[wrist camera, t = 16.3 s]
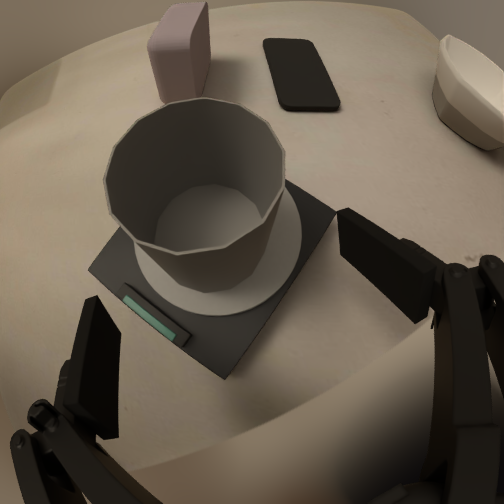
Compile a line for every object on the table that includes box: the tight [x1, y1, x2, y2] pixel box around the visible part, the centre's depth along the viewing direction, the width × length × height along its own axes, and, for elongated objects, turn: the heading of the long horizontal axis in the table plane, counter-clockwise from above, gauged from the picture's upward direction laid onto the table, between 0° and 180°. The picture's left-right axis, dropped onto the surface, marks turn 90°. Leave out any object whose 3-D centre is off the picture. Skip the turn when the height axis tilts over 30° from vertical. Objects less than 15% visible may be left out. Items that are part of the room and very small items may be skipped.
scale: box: [88, 179, 337, 380], centre depth 24 cm, size 16×14×4 cm
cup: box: [103, 97, 285, 293], centre depth 17 cm, size 8×8×10 cm
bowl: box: [432, 35, 504, 151], centre depth 29 cm, size 18×18×9 cm
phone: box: [263, 38, 340, 111], centre depth 32 cm, size 7×1×15 cm
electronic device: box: [147, 2, 211, 104], centre depth 27 cm, size 10×5×10 cm, turn 176°
